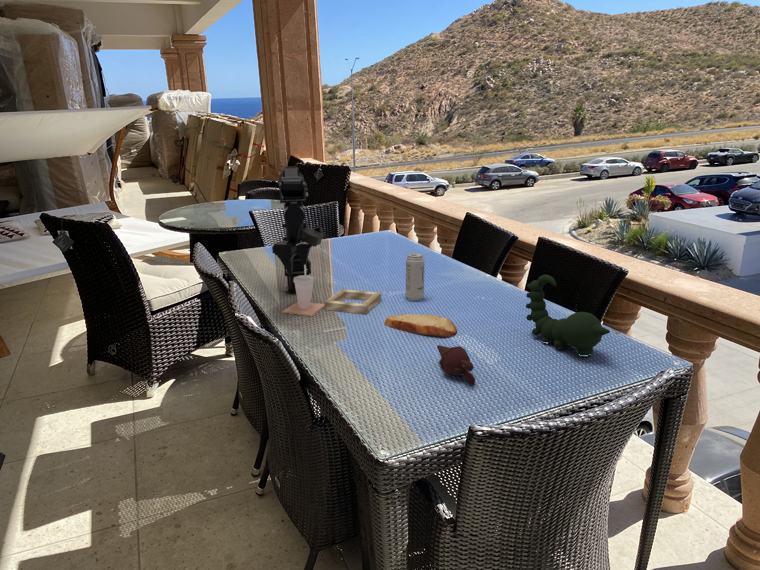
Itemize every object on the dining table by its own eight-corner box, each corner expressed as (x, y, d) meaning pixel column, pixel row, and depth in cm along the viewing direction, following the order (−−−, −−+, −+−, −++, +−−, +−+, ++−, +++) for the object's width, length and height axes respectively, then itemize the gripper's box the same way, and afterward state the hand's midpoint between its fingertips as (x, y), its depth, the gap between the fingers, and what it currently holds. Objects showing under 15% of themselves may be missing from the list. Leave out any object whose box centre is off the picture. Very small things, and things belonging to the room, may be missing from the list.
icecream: (422, 340, 127) (456, 370, 115) (448, 328, 129) (484, 356, 117) (427, 363, 130) (461, 395, 118) (452, 351, 133) (488, 381, 120)
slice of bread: (381, 322, 157) (380, 310, 156) (437, 315, 162) (437, 303, 161) (401, 345, 141) (401, 332, 140) (462, 337, 146) (463, 324, 145)
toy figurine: (518, 341, 145) (595, 369, 124) (518, 274, 141) (598, 291, 120) (542, 334, 150) (621, 360, 129) (543, 269, 146) (624, 284, 125)
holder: (324, 309, 167) (324, 302, 166) (342, 295, 179) (342, 288, 178) (366, 314, 162) (365, 306, 161) (381, 300, 175) (381, 293, 174)
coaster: (282, 313, 164) (282, 311, 164) (298, 302, 173) (298, 301, 173) (311, 316, 161) (311, 314, 161) (325, 306, 170) (325, 304, 170)
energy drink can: (422, 302, 172) (423, 257, 168) (404, 301, 174) (404, 256, 169) (424, 296, 178) (425, 253, 174) (407, 295, 179) (407, 252, 175)
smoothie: (311, 311, 163) (310, 268, 159) (291, 310, 164) (289, 266, 160) (317, 304, 169) (316, 262, 165) (298, 303, 170) (296, 261, 166)
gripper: (304, 227, 148) (307, 280, 153) (331, 215, 165) (333, 264, 170) (269, 225, 151) (273, 277, 156) (299, 214, 168) (302, 261, 173)
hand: (297, 269), depth 164 cm, fingers open, 9 cm apart
